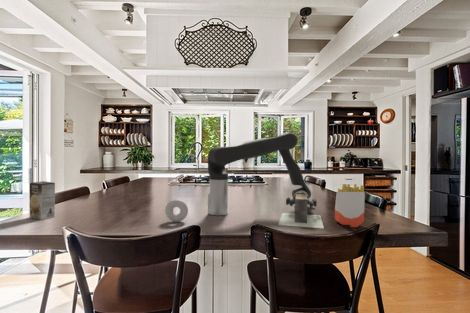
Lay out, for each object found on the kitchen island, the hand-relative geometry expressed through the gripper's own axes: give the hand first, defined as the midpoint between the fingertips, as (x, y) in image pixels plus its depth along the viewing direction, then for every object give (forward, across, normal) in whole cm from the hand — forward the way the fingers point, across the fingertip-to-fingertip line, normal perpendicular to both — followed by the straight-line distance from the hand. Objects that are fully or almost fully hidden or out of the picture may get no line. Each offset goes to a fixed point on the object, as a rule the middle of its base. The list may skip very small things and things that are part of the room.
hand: (301, 204), depth 126 cm
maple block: (+2, 0, +6) cm, 6 cm away
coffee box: (+29, -115, +7) cm, 119 cm away
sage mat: (+4, 0, +7) cm, 8 cm away
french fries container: (+4, +20, +7) cm, 22 cm away
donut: (+19, -53, +7) cm, 57 cm away
